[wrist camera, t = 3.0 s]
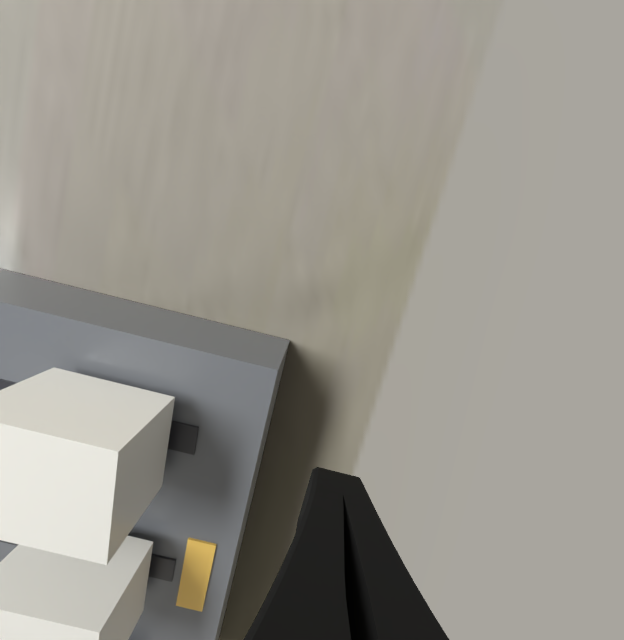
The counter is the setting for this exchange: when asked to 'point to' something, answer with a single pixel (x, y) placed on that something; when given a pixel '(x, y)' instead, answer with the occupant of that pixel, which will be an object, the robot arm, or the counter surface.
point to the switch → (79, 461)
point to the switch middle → (73, 594)
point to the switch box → (185, 434)
